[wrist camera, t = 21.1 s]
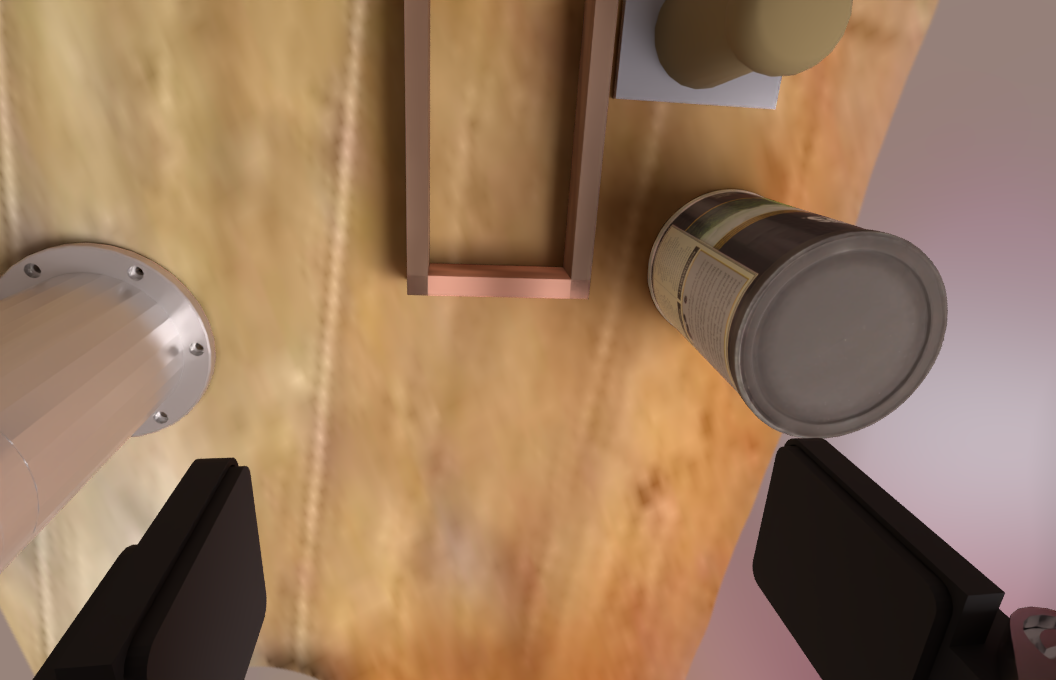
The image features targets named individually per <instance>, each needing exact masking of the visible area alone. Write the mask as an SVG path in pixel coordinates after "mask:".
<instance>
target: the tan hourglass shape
mask: <svg viewBox="0 0 1056 680" xmlns="http://www.w3.org/2000/svg"><path fill="white" fill-rule="evenodd" d="M852 3H853V0H665V2H664V3H663V5H662V7H661V8H660V11H659V15H658V18H657V22H656V25H655V48H656V51H657V55H658V58H659V62H660V64H661V65H662V67H663V68H664V70H665V71H666V73H667V74H668V75H669V76H670V77H671V78H672V79H674V80H675V81H676V82H678V83H679V84H680V85H682V86H686V87H689V88H693V89H707V88H713V87H716V86H718V85H721V84H723V83H726V82H728V81H731V80H733V79H736V78H738V77H741V76H743V75H746V74H748V73H751V72H753V71H754V72H756V73H759V74H763V75H766V76H770V77H778V76H790V75H796V74H798V73H800V72H803V71H805V70H807V69H809V68H812V67H813V66H815V65H817V64H818V63H819V62H820V61H822V60H823V59H824V58H825V57H826V56H827V55H829V54H830V53H831V52H832V51H833V49H834V48H835V46H836V45H837V44H838V42H839V41H840V39H841V38H842V36H843V35H844V32H845V29H846V27H847V24H848V21H849V19H850V16H851V12H852Z"/></svg>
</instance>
